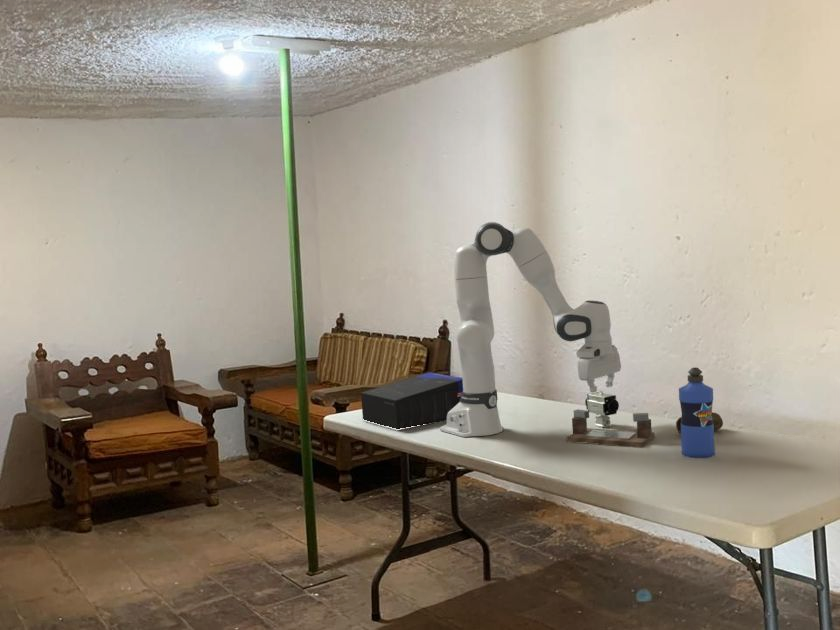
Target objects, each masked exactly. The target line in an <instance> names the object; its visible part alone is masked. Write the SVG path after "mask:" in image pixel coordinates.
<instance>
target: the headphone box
mask: <svg viewBox="0 0 840 630" xmlns="http://www.w3.org/2000/svg"><path fill="white" fill-rule="evenodd" d="M461 392H463V380H462V377H460V376H454V375H447V374H442V373H436V372H426V373H423V374H420V375H417V376H413V377H410V378H406V379H402V380H400V381H396V382H392V383H390V384H387V385H383V386H382V385H381V386H379V387H376V388H372V389H369V390H366V391H362V392H360V396H361V397H360V398H361V411H362V412H361V413H362V420H363V419H364V420H367V421H370V422H374V423H377V424H380V425H384V426H389V427H392V428H396V429H400V428H406V427H411V426H417V425H423V424H428V425H430V424H429V423H432V424H435V423H434V422H437V423H440V421H441V422H445V421H446V422H447V414H448V412H449V411H450V410H451V409H453V408H454V407H455V406H456V405H457V404H458V403H459V402H460V398H461V396H459V397H458V395H460V394H458V393H461ZM423 426H424V425H423Z"/></svg>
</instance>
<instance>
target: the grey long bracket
mask: <svg viewBox="0 0 840 630" xmlns="http://www.w3.org/2000/svg"><path fill="white" fill-rule="evenodd" d="M574 417H576V418H582V419H590V412H589V411H588V410H587V409H586V410H585V409H579V408H578V409H574V410H573V418H574ZM632 421H633V422H635V423H637V422H647V421H649V412H633V413H632ZM607 430H608V429H607ZM607 430H592V431H591V432H589V433H588V434H586V435H585V436H586V437H601V438H615V439H630V438H631V437H632V436H634V435H635V434H636V432H622V431H607Z"/></svg>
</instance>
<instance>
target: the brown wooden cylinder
mask: <svg viewBox="0 0 840 630" xmlns="http://www.w3.org/2000/svg"><path fill="white" fill-rule="evenodd" d="M681 417H682V416H680V417H679V418H678V419H677V420H676V421H675V425H676V431H677V432H678V433H679V434H680V435H681ZM712 419H713V424H714V432H716V431H718V430H720V429H721V428H722V427H723V425H724V421H723V419H722V417H721V415H720V414H719V413H717V412H714V411H712Z"/></svg>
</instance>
